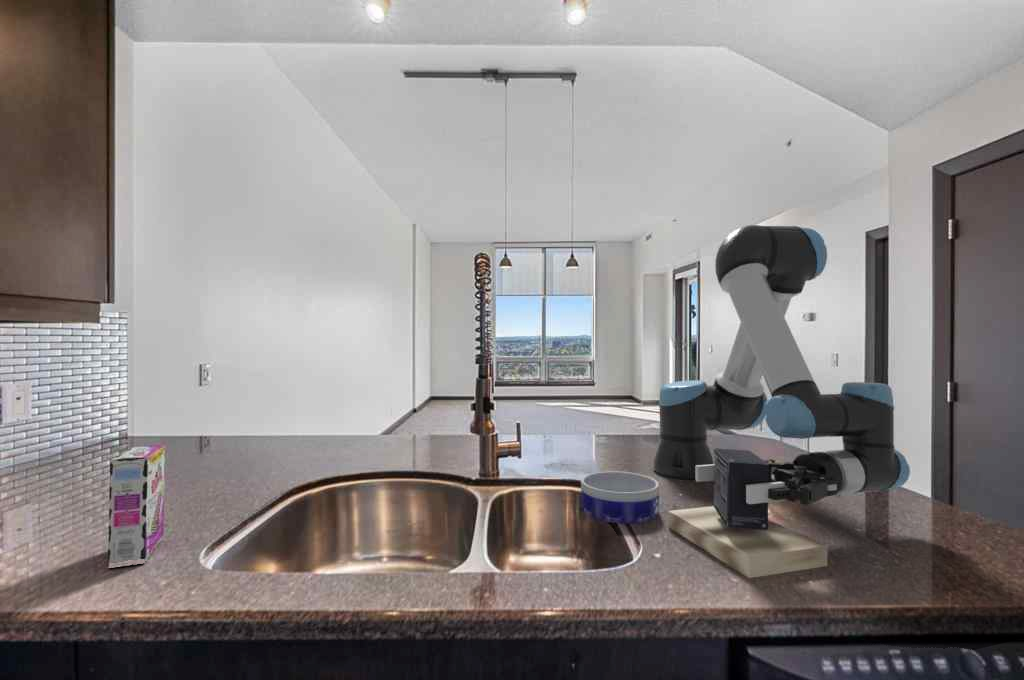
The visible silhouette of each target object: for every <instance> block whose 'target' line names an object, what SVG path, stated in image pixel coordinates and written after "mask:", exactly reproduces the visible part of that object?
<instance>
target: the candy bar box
mask: <svg viewBox="0 0 1024 680" xmlns="http://www.w3.org/2000/svg"><path fill="white" fill-rule="evenodd" d="M165 460H166V445H145V446H135V447H134V446H132V448H130V449H128V450H126V451H125V452H123V453H121V454H120V455H117V456H116V457H114V458H112V459H110V460H109V493H108V494H109V498H108V500H109V501H108V503H109V504H108V539H107V540H108V542H107V544H108V546H107V547H108V548H107V549H108V550H107V564H108V563H118V562H124V561H128V560H137V559H145V558H146V557H147V556H148V554H149V553H150V552H151V551H152V549H153V548H154V546H155V545H156V544H157V542H158V541H159V539H160V538H161V537H162V535H163V536H164V521H165V517H164V516H165V515H164V514H165V513H164V512H165V477H166V476H165V474H166V473H165V472H166V471H165V469H166V463H165V462H166V461H165Z"/></svg>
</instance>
